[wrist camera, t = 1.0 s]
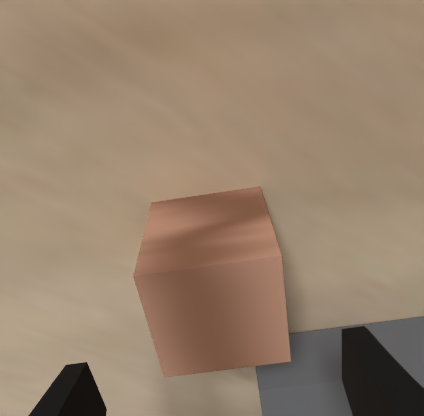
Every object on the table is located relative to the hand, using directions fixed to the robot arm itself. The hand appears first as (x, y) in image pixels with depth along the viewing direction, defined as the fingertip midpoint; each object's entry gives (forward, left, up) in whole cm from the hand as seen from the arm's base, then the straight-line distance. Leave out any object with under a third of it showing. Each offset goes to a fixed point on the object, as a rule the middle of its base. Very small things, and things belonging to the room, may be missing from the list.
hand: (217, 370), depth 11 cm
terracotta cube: (0, 0, -7) cm, 7 cm away
